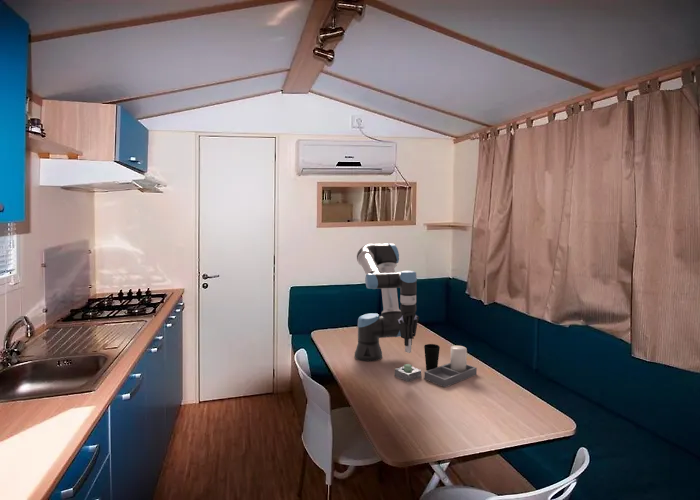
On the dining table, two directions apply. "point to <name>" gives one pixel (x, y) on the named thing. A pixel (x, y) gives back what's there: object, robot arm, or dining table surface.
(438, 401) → the dining table surface
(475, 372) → the grey divided tray
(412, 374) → the grey square socket block
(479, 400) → the dining table surface
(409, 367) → the button
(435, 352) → the cup
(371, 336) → the robot arm
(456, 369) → the billet
